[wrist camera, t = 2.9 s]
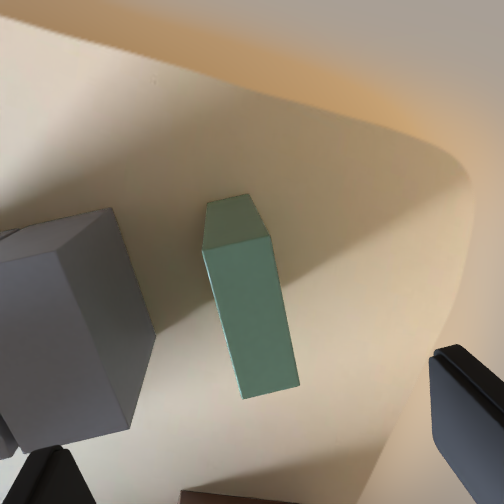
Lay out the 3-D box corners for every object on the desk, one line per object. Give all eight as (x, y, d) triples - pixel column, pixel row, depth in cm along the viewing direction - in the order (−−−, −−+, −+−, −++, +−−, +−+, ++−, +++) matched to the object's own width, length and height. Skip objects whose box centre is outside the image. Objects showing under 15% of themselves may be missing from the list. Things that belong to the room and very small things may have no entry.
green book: (249, 193, 22) (270, 234, 13) (270, 295, 24) (300, 386, 16) (206, 202, 22) (201, 250, 13) (232, 304, 24) (242, 400, 16)
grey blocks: (111, 207, 21) (54, 250, 14) (156, 336, 24) (130, 429, 17) (-66, 247, 21) (-223, 313, 14) (1, 372, 24) (-96, 483, 17)
